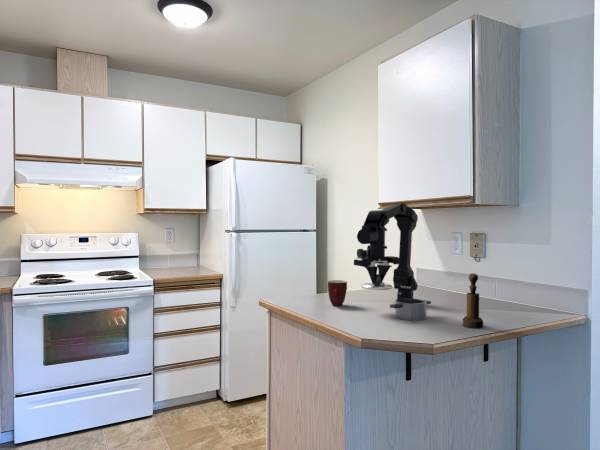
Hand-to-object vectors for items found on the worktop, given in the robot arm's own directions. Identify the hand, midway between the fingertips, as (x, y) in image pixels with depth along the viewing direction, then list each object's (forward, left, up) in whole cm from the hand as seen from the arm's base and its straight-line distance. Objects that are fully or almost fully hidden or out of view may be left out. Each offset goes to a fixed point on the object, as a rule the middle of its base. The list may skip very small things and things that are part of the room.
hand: (376, 283), depth 166 cm
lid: (0, 0, -2) cm, 2 cm away
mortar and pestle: (-15, +32, -12) cm, 37 cm away
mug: (+6, -18, -12) cm, 22 cm away
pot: (-6, +12, -11) cm, 18 cm away
